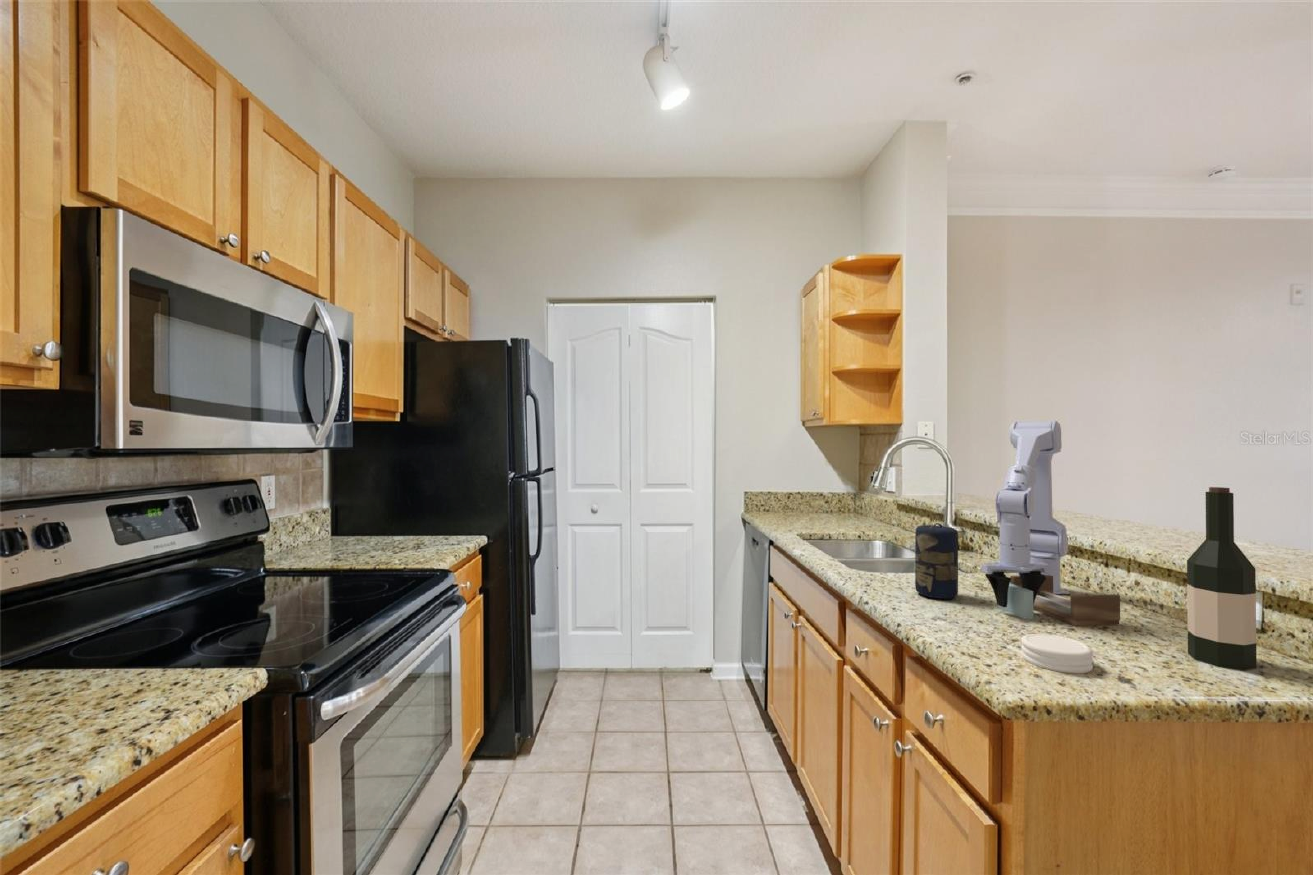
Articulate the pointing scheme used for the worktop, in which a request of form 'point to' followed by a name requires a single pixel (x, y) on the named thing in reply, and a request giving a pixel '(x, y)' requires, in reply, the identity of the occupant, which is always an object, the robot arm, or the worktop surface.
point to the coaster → (1057, 653)
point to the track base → (1075, 605)
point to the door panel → (1019, 602)
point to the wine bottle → (1221, 592)
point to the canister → (936, 561)
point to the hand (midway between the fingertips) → (1015, 605)
